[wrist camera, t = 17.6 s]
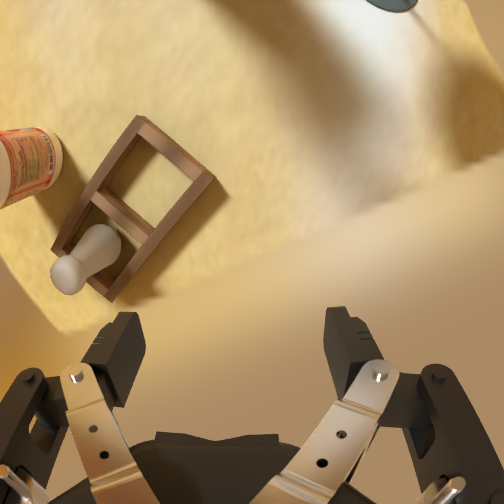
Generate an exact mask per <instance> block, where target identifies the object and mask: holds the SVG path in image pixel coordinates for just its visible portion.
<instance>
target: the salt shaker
mask: <svg viewBox="0 0 504 504" xmlns="http://www.w3.org/2000/svg"><path fill="white" fill-rule="evenodd" d="M120 252H121V238H120V236H119V234H118V232H117V230H116V229H115V228H113V227H109V226H107V225H105V224H96V225H94V226H92V227H90V228H88V229H87V231H86V232H85V233H84V235H83V236H82V238H81V239H80V240H79V242H78V243H77V245H76V246H75V248H74V249H73V250H72V252H71V253H70V254H69V255H64V256H62V257H60V258H59V259H57V260H56V261H55V262H54V263H53V265H52V267H51V269H50V274H51V279H52V282H53V284H54V286H55V287H56V288H57V289H58V290H59V291H60V292H62V293H64V294H65V295H73V294H76V293H78V292H79V291H81V289H82V288H83V286H84V285H85V283H86V278H88V277H90V276H91V275H93V274H95V273H97V272H98V271H100V270H102V269H104V268H106V267H107V266H109V265H111V264H113V263H115V261H116V260H117V258H118V257H119V255H120Z"/></svg>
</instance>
